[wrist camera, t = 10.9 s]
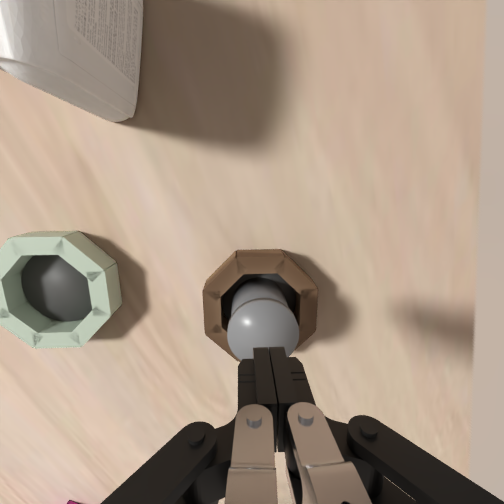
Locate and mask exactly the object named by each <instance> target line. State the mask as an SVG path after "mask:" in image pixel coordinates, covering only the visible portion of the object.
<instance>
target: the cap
mask: <svg viewBox="0 0 504 504" xmlns="http://www.w3.org/2000/svg"><path fill="white" fill-rule="evenodd" d="M227 339H228V344H229V347H230V349H231V351H232V352H233V354H234V355H235V356H236V357H237V358H238V359H240V360H241V361H242V359H253V348H256V347H268V350H269V347H284V348H285V352H286V356H287V357H289V356H290V355H291V354H292V352H293V351H294V350H295V348H296V346H297V343H298V340H299V327H298V324H297V321H296V319H295V316H294V314H293V313H292V311H291V310H290V309H289V307H288V305H287V302H286V299H285V296H284V294H283V291H282V289H281V288H280V287H279V286H278V284H276V283H275V282H274V281H272V280H270V279H267V278H262V277H256V278H251V279H248V280H246V281H244V282H243V283H241V284H240V285H239V286H238V287H237V289H236V290H235V292H234V295H233V298H232V311H231V318H230V320H229V323H228V331H227Z"/></svg>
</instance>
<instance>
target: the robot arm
mask: <svg viewBox="0 0 504 504" xmlns="http://www.w3.org/2000/svg"><path fill="white" fill-rule="evenodd" d="M276 447H277V448H278V452H285V458H286V476H287V480H288V485H289V489H290V493H291V498H292V502H293V504H504V502H503V501H502V500H500V499H498V498H497V497H496V496H494V495H492V494H491V493H489V492H488V491H486V490H485V489H483V488H482V487H480V486H478V485H477V484H475V483H474V482H472V481H471V480H469V479H468V478H466V477H465V476H463V475H461V474H460V473H458V472H457V471H455V470H454V469H452V468H451V467H449V466H448V465H446V464H444V463H443V462H441V461H440V460H438V459H437V458H435V457H434V456H432V455H431V454H429V453H427V452H426V451H424V450H423V449H421V448H420V447H418V446H417V445H415V444H414V443H412V442H410V441H409V440H407V439H406V438H404V437H403V436H401V435H400V434H398V433H397V432H395V431H393V430H392V429H390V428H389V427H387V426H386V425H384V424H383V423H381V422H380V421H378V420H376V419H374V418H372V417H369V416H365V415H358V416H355V417H353V418H351V419H350V421H349V423H348V424H346V423H342V422H337V421H334V420H331V419H329V418H327V417H325V416H324V414H323V412H322V411H321V410H320V409H319V408H318V407H317V406H316V404H315V401H314V398H313V395H312V392H311V389H310V386H309V383H308V380H307V377H306V374H305V371H304V368H303V365H302V363H301V362H300V361H299V360H298V359H297V358H296V357H287V356H286V352H285V348H284V347H269V350H268V347H256V348H253V359H242V361H241V362H240V364H239V366H238V411H237V414H236V416H235V418H234V419H233V420H232V421H231V422H230V423H228V424H227V425H225V426H222V427H219V428H216V429H214V427H213V426H212V425H210V424H209V423H206V422H194V423H191V424H189V425H187V426H185V427H184V428H183V429H182V430H181V431H180V432H178V433H177V434H176V435H175V436H174V437H173V438H172V439H171V440H170V441H169V442H167V443H166V444H165V445H164V446H163V447H162V448H161V449H160V450H159V451H158V452H157V453H155V454H154V455H153V456H152V457H151V458H150V459H149V460H148V461H147V462H146V463H145V464H143V465H142V466H141V467H140V468H139V469H138V470H137V471H136V472H135V473H134V474H132V475H131V476H130V477H129V478H128V479H127V480H126V481H125V482H124V483H123V484H122V485H120V486H119V487H118V488H117V489H116V490H115V491H114V492H113V493H112V494H111V495H109V496H108V497H107V498H106V499H105V500H104V501H103V502H102V503H101V504H218V502H219V500H220V499H222V498H224V497H225V504H278V498H277V478H276V468H275V455H274V452H276ZM384 476H385V477H386V478H385V477H384ZM388 479H389V480H390V481H391V482H390V481H389V480H388ZM392 482H393V483H394V484H395V485H394V484H393V483H392ZM397 486H398V487H399V488H400V489H399V488H398V487H397ZM401 489H402V490H403V491H404V492H405V493H404V492H403V491H402V490H401ZM406 493H407V494H408V495H409V496H408V495H407V494H406ZM411 497H412V498H413V499H414V500H413V499H412V498H411Z"/></svg>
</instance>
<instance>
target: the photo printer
mask: <svg viewBox="0 0 504 504" xmlns="http://www.w3.org/2000/svg"><path fill="white" fill-rule="evenodd" d="M142 28H143V0H0V69H1V70H3V71H5V72H8V73H10V74H11V75H12V76H14V77H15V78H17V79H19V80H21V81H23V82H25V83H27V84H29V85H31V86H33V87H35V88H38V89H40V90H42V91H44V92H46V93H49V94H51V95H53V96H55V97H57V98H59V99H62V100H64V101H66V102H68V103H70V104H72V105H74V106H77V107H79V108H81V109H83V110H85V111H87V112H90V113H92V114H94V115H96V116H98V117H100V118H103V119H105V120H108V121H112V122H120V121H124V120H126V119H128V118H129V117H130V118H132V117H133V115H134V112H135V108H136V103H137V96H138V86H139V73H140V59H141V44H142Z"/></svg>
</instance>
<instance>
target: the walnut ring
mask: <svg viewBox="0 0 504 504" xmlns="http://www.w3.org/2000/svg"><path fill="white" fill-rule="evenodd" d="M256 277H262V278H267V279H270V280H272V281H274V282H275V283H276V284H278V286H279V287H280V288H281V289H282V291H283V294H284V296H285V299H286V302H287V305H288V307H289V309H290V310H291V311H292V313H293V312H294V310H295V313H294V316H295V319H296V321H297V324H298V327H299V340H298V343H297V346H296V348H298V347H299V346H300V345H301V344H302V343H303V342H304V341H305V340H306V339H308V338H309V337H310V336H311V335H312V334H313V333H314V332H315V330H316V318H317V298H318V288H317V286H316V285H315V283H314V282H313V281H312V279H311V278H310V277H309V276H308V275H307V274H306V273H305V272H304V271H303V270H302V269H301V268H300V267H299V266H298V265H297V264H296V263H295V262H294V261H293V260H292V259H291V258H290V257H289V256H288V255H287V254H285V253H284V252H283V251H282V250H280V249H267V250H237V251H235V252H234V253H233V254H232V255H231V256H230V257H229V258H228V259H227V260H226V261H225V262H224V263H223V264H222V265H221V266H220V267H219V268H218V269H217V270H216V271H215V272H214V273H213V274H212V275H211V276H210V277H209V278H208V279H207V280H206V283H205V286H204V289H203V309H204V327H205V333H206V336H208V337H209V338H210V339H211V340H213V341H214V342H215V343H216V344H217V345H219V346H220V347H221V348H222V349H223V350H225V351H226V352H227V353H228V354H229V355H231V356H232V357H233V358H234V359H236V360H237V361H239V362H241V360H240V359H238V358H237V357H236V356H235V355H234V354H233V352H232V351H231V349H230V347H229V344H228V339H227V331H228V323H229V320H230V318H231V311H232V298H233V295H234V292H235V290H236V289H237V287H238V286H239V285H240V284H241V283H243V282H244V281H246V280H248V279H251V278H256ZM294 289H295V291H294ZM222 295H223V298H222ZM223 310H224V313H225V316H226V317H225V316H224V315H223ZM296 348H295V349H296Z"/></svg>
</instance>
